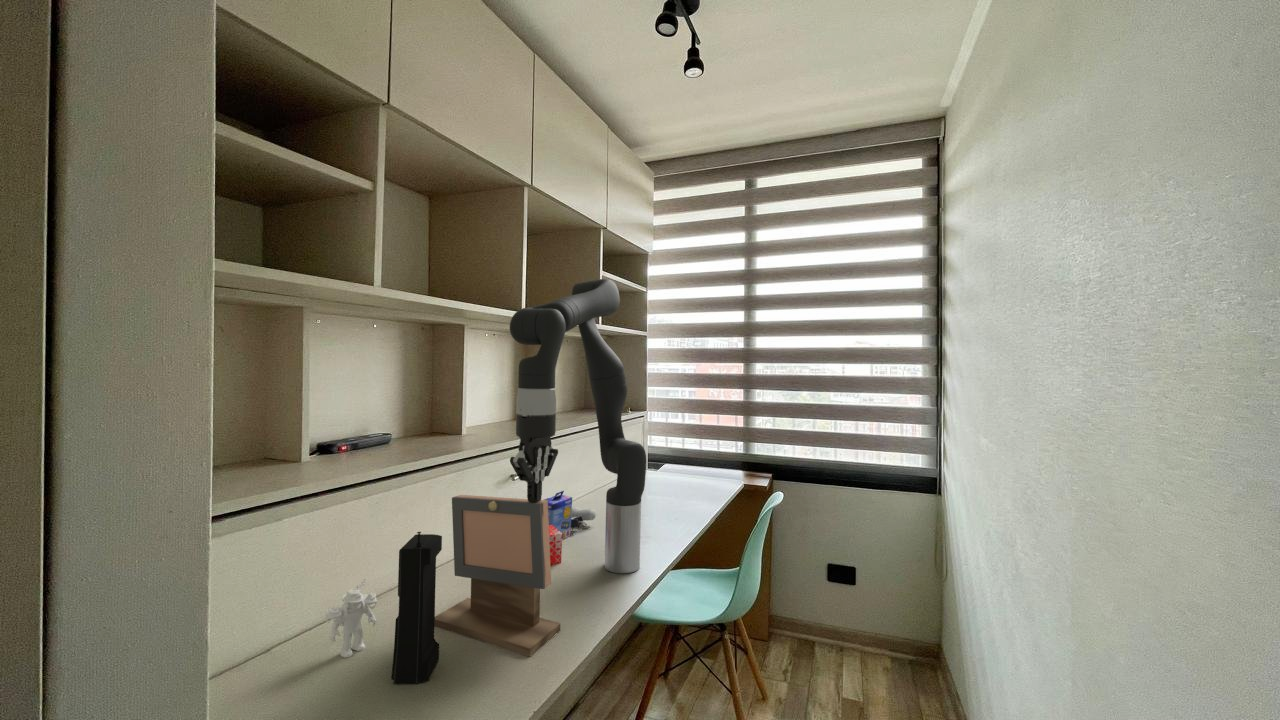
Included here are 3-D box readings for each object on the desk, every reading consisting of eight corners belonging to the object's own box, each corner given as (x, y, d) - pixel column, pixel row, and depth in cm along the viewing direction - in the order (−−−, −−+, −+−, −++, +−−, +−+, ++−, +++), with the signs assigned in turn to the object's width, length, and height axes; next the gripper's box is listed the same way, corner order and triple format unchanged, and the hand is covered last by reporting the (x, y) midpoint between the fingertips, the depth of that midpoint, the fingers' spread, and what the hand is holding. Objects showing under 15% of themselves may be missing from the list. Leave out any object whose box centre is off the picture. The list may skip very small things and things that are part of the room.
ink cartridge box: (551, 546, 148) (552, 496, 148) (536, 542, 151) (537, 493, 151) (572, 536, 157) (573, 488, 157) (557, 532, 160) (558, 486, 160)
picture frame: (463, 571, 108) (460, 494, 108) (551, 584, 99) (547, 500, 99) (452, 576, 105) (449, 498, 106) (541, 590, 96) (538, 504, 97)
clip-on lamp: (537, 533, 168) (577, 532, 158) (533, 513, 168) (573, 512, 158) (562, 520, 177) (601, 519, 167) (558, 502, 178) (597, 500, 167)
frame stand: (467, 604, 112) (470, 497, 112) (560, 630, 103) (563, 513, 103) (431, 625, 103) (434, 509, 103) (529, 656, 93) (533, 528, 93)
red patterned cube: (523, 557, 139) (524, 528, 139) (551, 553, 143) (551, 524, 143) (532, 568, 133) (533, 538, 133) (561, 563, 136) (562, 533, 136)
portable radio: (406, 657, 92) (410, 518, 92) (441, 656, 93) (444, 518, 93) (389, 685, 85) (392, 533, 84) (426, 684, 85) (430, 533, 85)
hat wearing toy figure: (370, 636, 99) (371, 574, 99) (381, 643, 97) (383, 579, 97) (320, 659, 91) (322, 591, 91) (331, 666, 89) (333, 597, 89)
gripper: (540, 408, 107) (538, 491, 107) (498, 413, 95) (496, 507, 95) (571, 410, 104) (569, 496, 104) (531, 415, 92) (529, 512, 92)
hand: (534, 501), depth 99 cm, fingers closed
